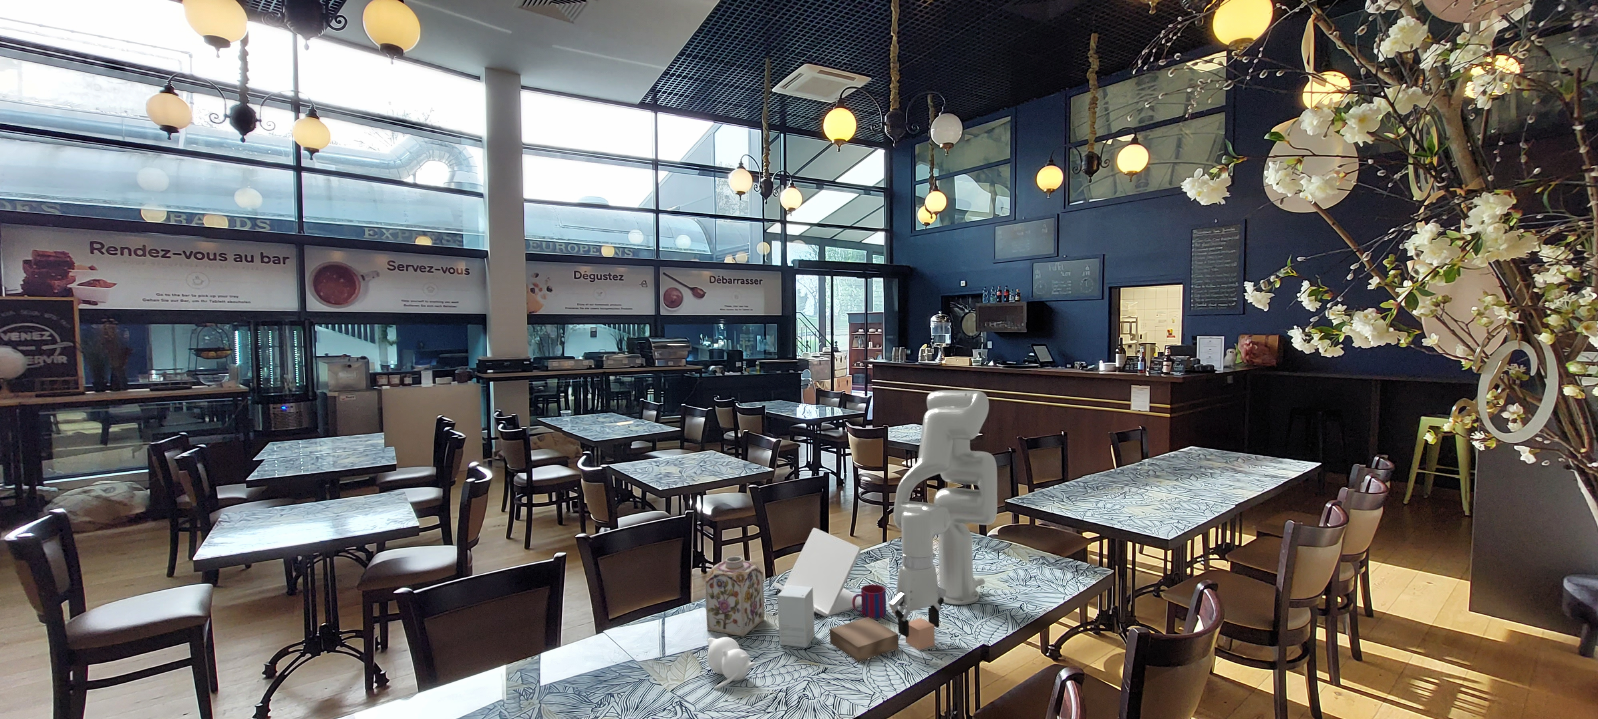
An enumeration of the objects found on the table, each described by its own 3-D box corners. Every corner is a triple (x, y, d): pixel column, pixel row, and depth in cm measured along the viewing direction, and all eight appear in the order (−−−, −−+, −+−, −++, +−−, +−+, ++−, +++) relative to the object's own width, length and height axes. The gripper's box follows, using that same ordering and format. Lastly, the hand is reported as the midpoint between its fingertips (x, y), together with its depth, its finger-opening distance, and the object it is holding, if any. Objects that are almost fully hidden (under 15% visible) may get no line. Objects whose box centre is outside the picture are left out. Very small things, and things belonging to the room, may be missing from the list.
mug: (890, 615, 177) (889, 591, 177) (857, 622, 173) (856, 597, 173) (879, 606, 183) (878, 582, 183) (847, 612, 180) (846, 588, 179)
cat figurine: (746, 642, 143) (718, 623, 152) (711, 681, 138) (684, 659, 147) (764, 668, 146) (735, 647, 156) (731, 707, 141) (703, 683, 151)
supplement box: (815, 635, 166) (814, 586, 166) (806, 648, 159) (804, 597, 159) (788, 632, 169) (786, 583, 169) (778, 644, 162) (776, 594, 162)
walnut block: (868, 632, 168) (868, 616, 168) (898, 650, 158) (898, 633, 158) (830, 644, 162) (829, 628, 162) (858, 664, 152) (858, 647, 152)
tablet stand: (822, 578, 207) (820, 525, 206) (869, 604, 185) (867, 545, 185) (772, 591, 198) (770, 535, 197) (816, 620, 176) (813, 557, 176)
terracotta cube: (921, 637, 164) (920, 617, 163) (934, 645, 159) (934, 624, 159) (905, 642, 161) (905, 622, 161) (919, 650, 157) (918, 630, 157)
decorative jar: (765, 619, 177) (763, 554, 176) (744, 637, 166) (742, 568, 166) (728, 613, 182) (725, 549, 181) (705, 630, 171) (702, 562, 171)
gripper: (933, 550, 167) (934, 617, 167) (880, 563, 158) (881, 633, 158) (954, 558, 161) (955, 627, 161) (900, 571, 152) (901, 644, 152)
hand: (919, 630), depth 160 cm, fingers open, 9 cm apart
